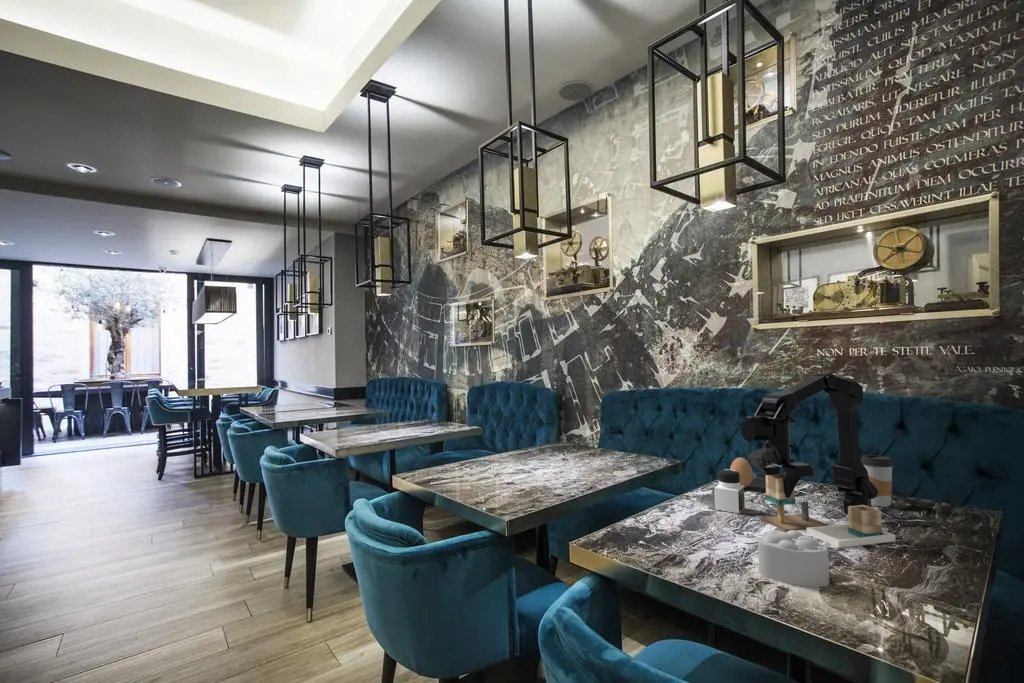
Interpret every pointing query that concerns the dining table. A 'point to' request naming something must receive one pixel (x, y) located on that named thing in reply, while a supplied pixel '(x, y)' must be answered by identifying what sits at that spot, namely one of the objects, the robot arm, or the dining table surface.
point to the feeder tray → (846, 536)
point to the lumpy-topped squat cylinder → (793, 559)
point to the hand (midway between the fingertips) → (780, 494)
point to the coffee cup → (879, 477)
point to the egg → (743, 471)
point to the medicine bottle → (729, 492)
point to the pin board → (793, 519)
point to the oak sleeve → (777, 491)
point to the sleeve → (864, 521)
